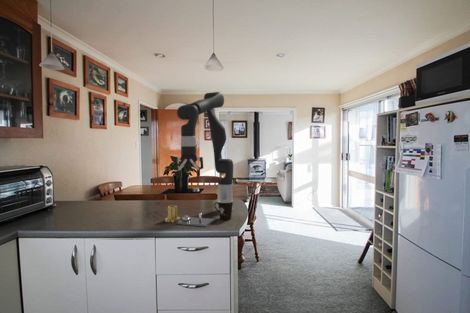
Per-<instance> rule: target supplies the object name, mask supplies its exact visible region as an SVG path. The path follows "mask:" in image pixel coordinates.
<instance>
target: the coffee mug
mask: <svg viewBox="0 0 470 313" xmlns="http://www.w3.org/2000/svg"><path fill="white" fill-rule="evenodd" d="M233 204H234V200H233V201H232V200H220V201H218V200H217V201H216V202H215V203H214V205H213V206H214V208H215V211H217V212H218V213H219V220H220V221H230V220H231V219H232V215H233V214H232V213H233V210H232V206H233ZM216 205H218V207H219V210H218V208H217V207H216Z"/></svg>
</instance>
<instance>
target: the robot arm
mask: <svg viewBox="0 0 470 313" xmlns="http://www.w3.org/2000/svg"><path fill="white" fill-rule="evenodd" d="M224 105H225V97H224V94H223V93H222V92H220V91H214V92H213V91H212V92H206V93H205V94H204V96H203V99H199V100H195V101H193V102H191V103H186V104H183V105H180V106H179V107H178V108H177V111H176V115H177V118H179V119H180V120H183V121H186V120H188V121H187V123H185V124H182V125H181V127H180V133H181V134H180V136H181V138H180V157H174V170H177V172H178V174H177V175H178V178H180V179H182V178H183V174H182V173H183V170H182V169H183V168H184V167H188V166H189V167H192V166H194V168H195V169H196V178H199V177H200V176H201V170H202V169H204V157H203V156H199V157H198V156H197V136H196V127H197V123H198V119H199V116H200V115H202V114H203V113H206V116H207V120H208V124H209V130H210V131H209V132H210V138H211V143H212V149H213V156H214V168H215V171H216V172H217V173H218V174H225V175H224V177H222V178H219V179H217V188H218V189H217V194H218V196H217V198H218V199H217V202H218V201H220V200H232V201H233V202H234V200H233V198H234V197H233V181H234V180H233V179H234V161H233V160H232V159H231V158H222V151H223V149H224V146H225V144H226V142H227V133H226V128H225V126H224V124H223V123H222V122H221V121H220V119H219V118H218V117H217V115H216V112H215V109H216V108H217V109H220V108H222V107H223V106H224ZM197 161H198V162H199V164H200V165H198V164H197ZM179 162H181V164H180V166H179ZM178 166H179V167H178ZM217 209H218V210H219V207H218V208H217ZM233 209H234V207H233V206H232V211H233Z"/></svg>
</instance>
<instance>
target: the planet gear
mask: <svg viewBox="0 0 470 313" xmlns="http://www.w3.org/2000/svg"><path fill="white" fill-rule="evenodd" d="M180 220H181V217H180V216H178V205H176V204H175V205H168V206H167V217H165V218H164V222H166V223H169V222H170V223H171V222H172V223H177V222H178V221H180Z"/></svg>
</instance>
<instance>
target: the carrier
mask: <svg viewBox="0 0 470 313" xmlns="http://www.w3.org/2000/svg"><path fill="white" fill-rule="evenodd" d="M215 221H216V220H215V219H214V218H206V217H203V216H202V213H200V212H199V213H198V217H193V216H188V214H185V215H184V216H182V217H181V219H180V221H178V222H176V225H180V224H181V226H192V227H193V226H194V227H208V226H209V225H211V224H213V223H214V222H215Z"/></svg>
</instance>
